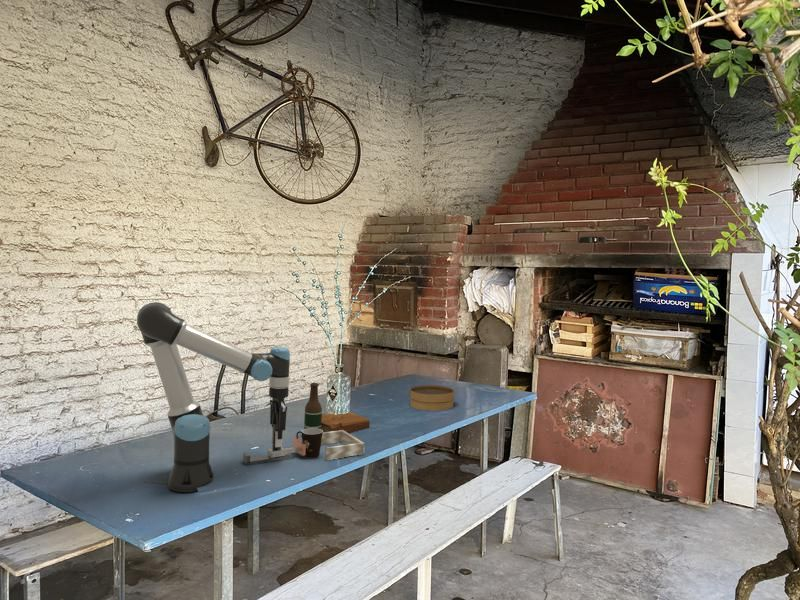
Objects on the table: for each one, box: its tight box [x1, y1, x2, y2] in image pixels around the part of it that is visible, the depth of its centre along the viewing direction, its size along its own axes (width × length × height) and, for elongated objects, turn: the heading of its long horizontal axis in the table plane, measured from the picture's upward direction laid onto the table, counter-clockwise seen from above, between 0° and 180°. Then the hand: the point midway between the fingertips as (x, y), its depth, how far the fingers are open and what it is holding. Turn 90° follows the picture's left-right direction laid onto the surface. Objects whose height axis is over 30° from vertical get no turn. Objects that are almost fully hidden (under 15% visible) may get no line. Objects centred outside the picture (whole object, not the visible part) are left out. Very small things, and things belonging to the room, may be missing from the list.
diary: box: [321, 411, 371, 434], centre depth 272 cm, size 23×19×6 cm
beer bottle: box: [303, 382, 323, 430], centre depth 259 cm, size 8×8×24 cm
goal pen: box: [321, 430, 366, 461], centre depth 240 cm, size 17×20×5 cm
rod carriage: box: [267, 423, 306, 458], centre depth 228 cm, size 13×10×12 cm
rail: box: [242, 451, 293, 466], centre depth 225 cm, size 19×4×4 cm, turn 122°
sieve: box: [408, 384, 456, 411], centre depth 318 cm, size 25×25×11 cm
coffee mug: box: [295, 428, 323, 459], centre depth 233 cm, size 12×9×10 cm
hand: (276, 445), depth 226 cm, fingers closed on rod carriage, 3 cm apart
